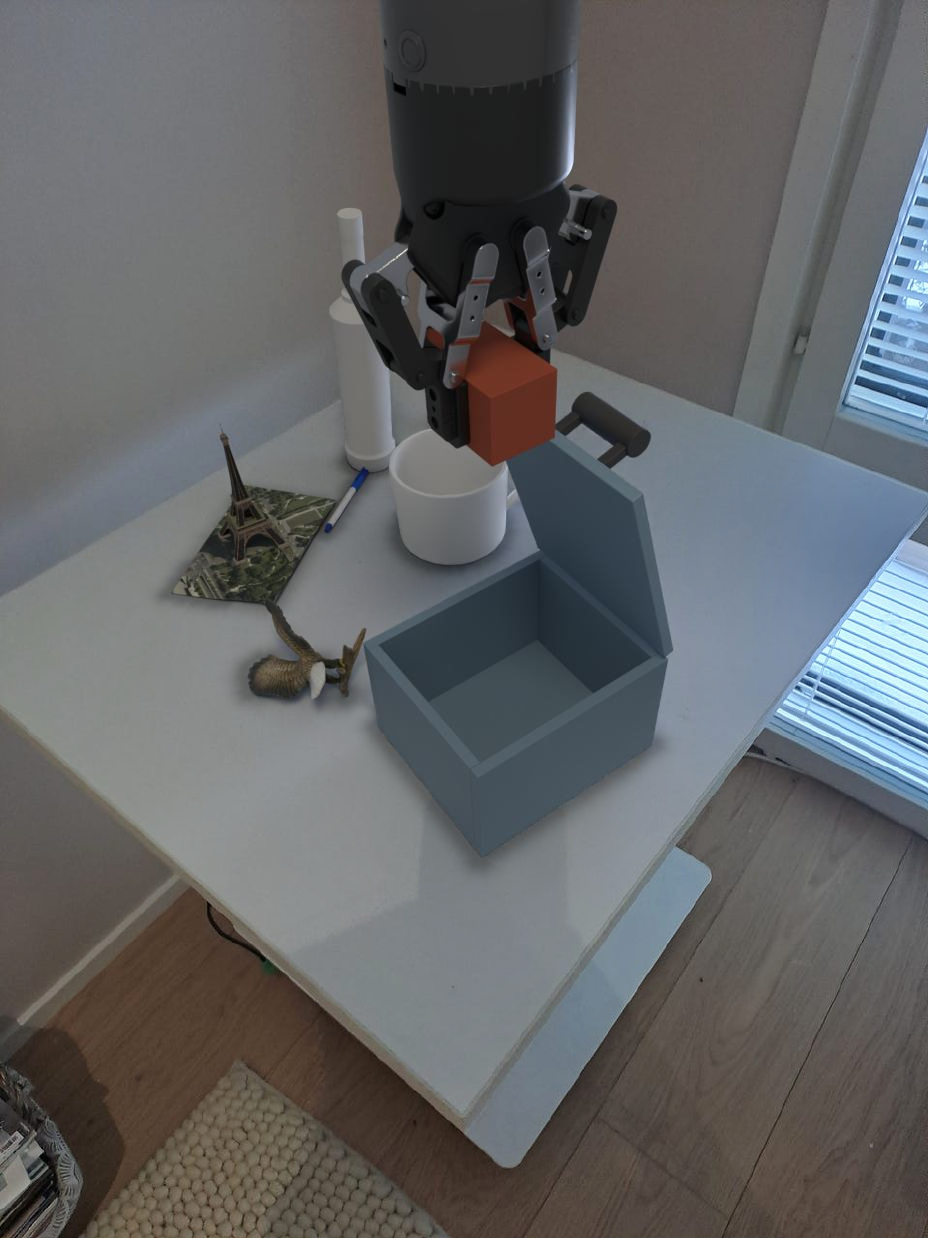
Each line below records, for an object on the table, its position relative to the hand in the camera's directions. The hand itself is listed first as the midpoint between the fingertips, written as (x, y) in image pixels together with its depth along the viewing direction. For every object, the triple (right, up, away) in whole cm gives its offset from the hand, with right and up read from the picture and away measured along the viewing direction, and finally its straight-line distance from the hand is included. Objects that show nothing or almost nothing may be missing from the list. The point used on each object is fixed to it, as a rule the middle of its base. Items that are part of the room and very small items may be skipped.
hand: (489, 421), depth 47 cm
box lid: (+6, -5, +10) cm, 12 cm away
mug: (-1, -2, +38) cm, 38 cm away
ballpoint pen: (-13, +1, +41) cm, 43 cm away
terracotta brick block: (0, 0, 0) cm, 0 cm away
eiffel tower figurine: (-21, -4, +37) cm, 43 cm away
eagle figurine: (-14, -15, +26) cm, 33 cm away
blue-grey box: (+2, -19, +21) cm, 28 cm away
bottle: (-11, +6, +45) cm, 47 cm away
